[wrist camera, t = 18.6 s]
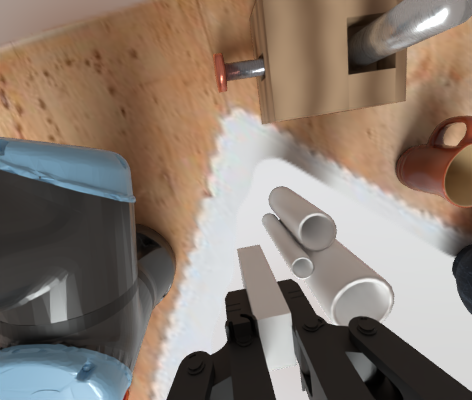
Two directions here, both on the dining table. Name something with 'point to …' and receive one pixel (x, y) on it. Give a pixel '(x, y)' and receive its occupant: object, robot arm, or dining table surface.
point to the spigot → (405, 28)
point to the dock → (320, 58)
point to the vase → (325, 260)
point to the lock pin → (236, 70)
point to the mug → (440, 165)
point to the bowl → (464, 276)
